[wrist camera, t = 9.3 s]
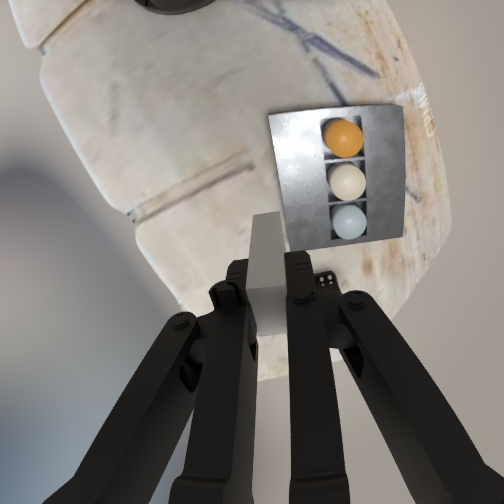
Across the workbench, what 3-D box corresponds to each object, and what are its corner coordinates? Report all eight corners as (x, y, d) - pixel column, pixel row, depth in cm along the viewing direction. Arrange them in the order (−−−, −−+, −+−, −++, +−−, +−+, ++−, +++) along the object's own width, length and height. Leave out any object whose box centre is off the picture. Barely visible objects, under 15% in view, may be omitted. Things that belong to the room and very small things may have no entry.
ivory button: (325, 162, 37) (329, 168, 34) (358, 159, 36) (365, 164, 33) (328, 194, 39) (332, 202, 36) (360, 191, 38) (366, 198, 36)
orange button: (319, 120, 33) (324, 122, 31) (354, 117, 33) (361, 119, 30) (324, 154, 36) (328, 159, 33) (357, 151, 35) (364, 156, 33)
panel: (267, 114, 35) (268, 115, 32) (393, 104, 32) (402, 105, 30) (289, 242, 45) (290, 252, 42) (395, 228, 42) (402, 237, 40)
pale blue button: (329, 202, 40) (333, 210, 37) (360, 198, 39) (366, 206, 36) (331, 231, 42) (335, 241, 40) (361, 227, 41) (366, 237, 39)
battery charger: (335, 265, 47) (350, 312, 37) (338, 282, 49) (351, 330, 39) (295, 274, 48) (301, 323, 39) (299, 291, 50) (305, 340, 40)
